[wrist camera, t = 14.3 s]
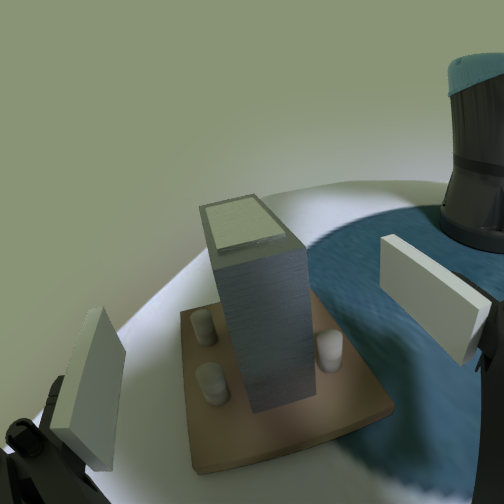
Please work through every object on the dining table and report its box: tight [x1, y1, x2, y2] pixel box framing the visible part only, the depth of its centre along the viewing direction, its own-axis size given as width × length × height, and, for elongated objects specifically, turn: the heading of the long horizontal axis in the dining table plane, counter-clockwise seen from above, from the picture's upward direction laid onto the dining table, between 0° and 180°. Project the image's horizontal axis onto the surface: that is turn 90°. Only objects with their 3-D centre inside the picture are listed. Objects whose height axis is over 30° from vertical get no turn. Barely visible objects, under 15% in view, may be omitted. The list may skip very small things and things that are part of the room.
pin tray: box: [180, 288, 395, 475], centre depth 21 cm, size 12×16×4 cm
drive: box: [199, 194, 316, 414], centre depth 20 cm, size 4×10×10 cm, turn 13°
